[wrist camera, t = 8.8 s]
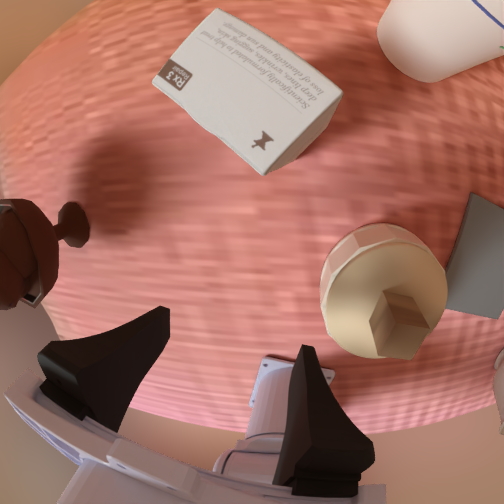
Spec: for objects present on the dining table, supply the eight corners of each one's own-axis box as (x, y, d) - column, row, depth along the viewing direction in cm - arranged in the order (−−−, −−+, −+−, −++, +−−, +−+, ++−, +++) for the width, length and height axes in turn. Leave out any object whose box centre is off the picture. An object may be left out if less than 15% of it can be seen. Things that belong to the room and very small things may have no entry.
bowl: (401, 334, 23) (411, 361, 19) (306, 316, 24) (305, 344, 21) (443, 240, 19) (465, 257, 15) (338, 208, 20) (345, 221, 17)
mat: (496, 317, 20) (497, 319, 20) (430, 302, 21) (432, 305, 21) (532, 227, 16) (535, 228, 15) (470, 192, 17) (473, 193, 16)
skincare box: (329, 125, 18) (360, 91, 7) (289, 165, 20) (267, 184, 9) (268, 73, 17) (221, -3, 6) (230, 114, 19) (144, 83, 8)
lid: (411, 357, 19) (424, 396, 15) (310, 341, 20) (308, 383, 16) (461, 259, 15) (491, 288, 11) (348, 226, 17) (361, 252, 12)
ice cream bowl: (88, 163, 23) (-38, 197, 9) (119, 263, 26) (16, 343, 13) (40, 194, 26) (-54, 232, 12) (66, 274, 29) (-15, 333, 15)
